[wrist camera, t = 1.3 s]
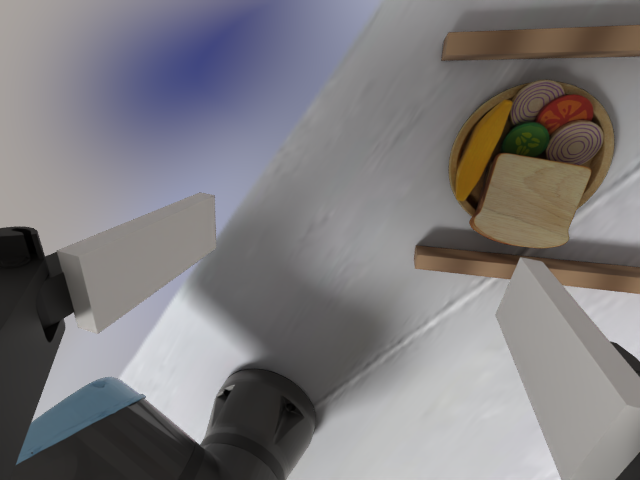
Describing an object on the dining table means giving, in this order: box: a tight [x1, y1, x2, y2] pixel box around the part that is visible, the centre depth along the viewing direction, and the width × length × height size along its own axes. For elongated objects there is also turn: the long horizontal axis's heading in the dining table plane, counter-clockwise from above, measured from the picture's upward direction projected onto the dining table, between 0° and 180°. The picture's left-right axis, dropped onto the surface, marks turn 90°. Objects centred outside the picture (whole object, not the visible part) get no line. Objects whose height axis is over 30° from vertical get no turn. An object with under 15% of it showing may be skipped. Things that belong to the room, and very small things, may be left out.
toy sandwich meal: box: [449, 80, 614, 248], centre depth 26 cm, size 12×14×5 cm
